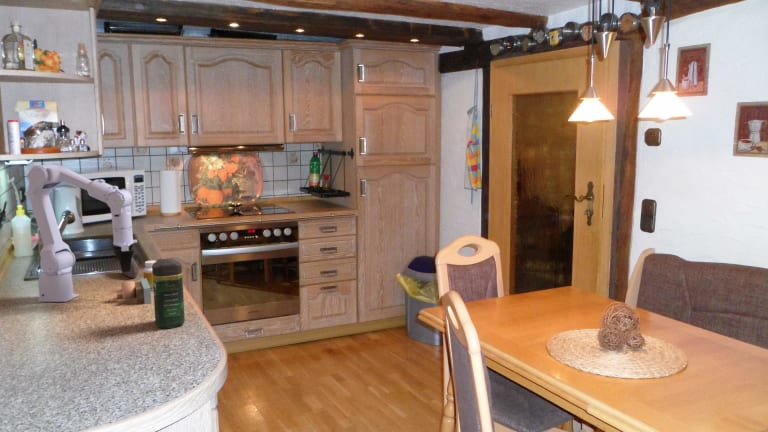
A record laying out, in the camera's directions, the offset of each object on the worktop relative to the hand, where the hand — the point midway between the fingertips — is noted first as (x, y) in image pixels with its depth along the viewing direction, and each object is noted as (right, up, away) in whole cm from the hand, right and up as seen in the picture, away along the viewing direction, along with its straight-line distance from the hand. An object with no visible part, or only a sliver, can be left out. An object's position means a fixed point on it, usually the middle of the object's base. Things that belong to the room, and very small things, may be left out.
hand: (125, 269), depth 196 cm
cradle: (+1, -10, +2) cm, 10 cm away
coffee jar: (+22, -14, -22) cm, 34 cm away
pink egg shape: (+1, -10, +2) cm, 10 cm away
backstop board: (+5, -10, +4) cm, 12 cm away
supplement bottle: (+3, -8, +15) cm, 18 cm away
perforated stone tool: (-13, -6, +34) cm, 37 cm away
